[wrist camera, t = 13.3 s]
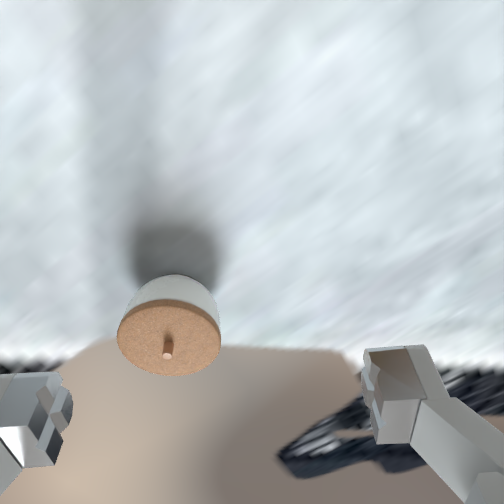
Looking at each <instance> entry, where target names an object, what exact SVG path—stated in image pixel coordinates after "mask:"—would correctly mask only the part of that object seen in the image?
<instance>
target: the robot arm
mask: <svg viewBox="0 0 504 504" xmlns="http://www.w3.org/2000/svg"><path fill="white" fill-rule="evenodd" d="M363 360H364V363H365V367H364V368H363V369H362V374H361V382H362V391H363V396H364V400H365V404H366V406H368V407H369V408H370V409H371V416H370V422H371V426H372V429H373V433H374V437H375V440H376V444H394V443H410V445H411V446H412V447H413V448H414V449H415V450H416V451H417V453H418V454H419V455H420V456H421V457H422V458H423V459H424V460H425V461H426V462H427V463H428V464H429V465H430V467H432V469H433V470H434V471H435V472H436V473H437V474H438V475H439V476H440V477H441V478H442V479H443V481H444V482H445V483H446V484H447V485H448V486H449V487H450V488H451V489H452V490H453V491H454V492H455V493H456V494H457V496H458V497H459V498H460V499H461V500H462V501H463V502H464V504H504V434H503V433H501V432H500V431H499V430H498V429H496V428H495V427H494V426H492V425H491V424H490V423H489V422H487V421H486V420H485V419H483V418H482V417H481V416H479V415H478V414H477V413H476V412H474V411H473V410H472V409H470V408H469V407H468V406H466V405H465V404H464V403H463V402H461V401H460V400H459V399H457V398H450V397H449V394H448V392H447V390H446V388H445V386H444V384H443V382H442V379H441V377H440V375H439V373H438V371H437V369H436V366H435V364H434V362H433V360H432V358H431V356H430V354H429V351H428V349H427V347H426V346H424V345H409V346H392V347H380V348H369V349H365V351H364V355H363ZM62 381H63V379H62V377H61V376H60V374H59V372H39V373H18V374H1V375H0V496H1V494H2V493H3V492H4V491H5V490H6V489H7V487H8V486H9V485H10V484H11V483H12V482H13V481H14V480H15V478H16V477H17V476H18V475H19V474H20V472H22V468H32V467H43V466H54V465H55V463H56V460H57V457H58V455H59V452H60V449H61V445H62V443H63V439H62V437H61V434H60V433H61V432H62V431H63V430H64V429H65V428H66V427H67V426H68V425H69V423H70V420H71V417H72V410H73V401H72V396H71V394H70V392H69V390H68V389H66V388H64V387H62V386H61V383H62Z"/></svg>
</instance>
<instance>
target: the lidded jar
mask: <svg viewBox="0 0 504 504" xmlns="http://www.w3.org/2000/svg"><path fill="white" fill-rule="evenodd" d="M117 343H118V346H119V348H120V350H121V351H122V353H123V355H124V356H125V357H126V358H127V359H128V360H129V361H130V362H131V363H132V364H134V365H135V366H137V367H139V368H141V369H143V370H145V371H148V372H151V373H155V374H159V375H165V376H181V375H187V374H191V373H195V372H197V371H200V370H202V369H203V368H205V367H207V366H208V365H209V364H210V363H211V362H213V361H214V359H215V358H216V357H217V355H218V353H219V350H220V346H221V334H220V317H219V311H218V307H217V305H216V302H215V300H214V298H213V296H212V295H211V293H210V292H209V291H208V290H207V289H206V288H205V287H204V286H203V285H202V284H201V283H199V282H197V281H196V280H194V279H192V278H190V277H188V276H185V275H179V274H172V275H166V276H161V277H158V278H155V279H153V280H151V281H149V282H147V283H146V284H145V285H143V286H142V287H141V288H140V289H139V290H138V291H137V292H136V293H135V295H134V296H133V298H132V299H131V301H130V302H129V304H128V306H127V308H126V311H125V314H124V316H123V319H122V320H121V323H120V325H119V328H118V331H117Z"/></svg>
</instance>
